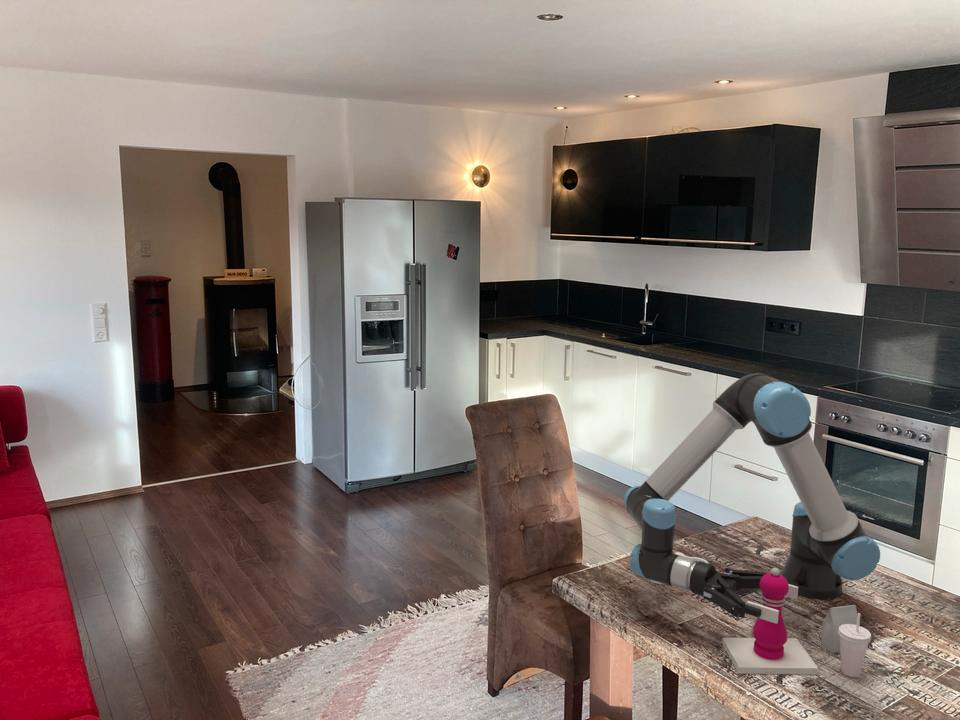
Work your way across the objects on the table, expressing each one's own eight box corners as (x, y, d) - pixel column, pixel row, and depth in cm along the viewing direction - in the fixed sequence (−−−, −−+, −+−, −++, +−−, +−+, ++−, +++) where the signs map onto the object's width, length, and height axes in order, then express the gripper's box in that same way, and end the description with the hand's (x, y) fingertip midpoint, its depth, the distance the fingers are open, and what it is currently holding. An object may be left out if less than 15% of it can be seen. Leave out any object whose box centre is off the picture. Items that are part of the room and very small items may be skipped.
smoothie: (853, 684, 164) (860, 622, 161) (827, 668, 170) (833, 609, 167) (873, 676, 167) (880, 615, 164) (847, 661, 173) (853, 602, 170)
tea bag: (857, 649, 177) (861, 609, 175) (831, 653, 176) (835, 612, 174) (845, 641, 181) (850, 601, 179) (820, 644, 179) (824, 604, 177)
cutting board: (795, 644, 179) (796, 638, 179) (817, 674, 167) (818, 668, 167) (721, 643, 179) (722, 637, 179) (738, 673, 167) (739, 667, 167)
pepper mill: (788, 663, 169) (796, 577, 165) (753, 659, 170) (760, 573, 167) (782, 645, 176) (790, 562, 172) (749, 641, 177) (755, 559, 174)
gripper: (714, 572, 192) (803, 599, 179) (670, 612, 173) (767, 644, 160) (716, 544, 191) (806, 568, 178) (672, 580, 171) (770, 611, 158)
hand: (788, 604), depth 169 cm, fingers open, 13 cm apart
